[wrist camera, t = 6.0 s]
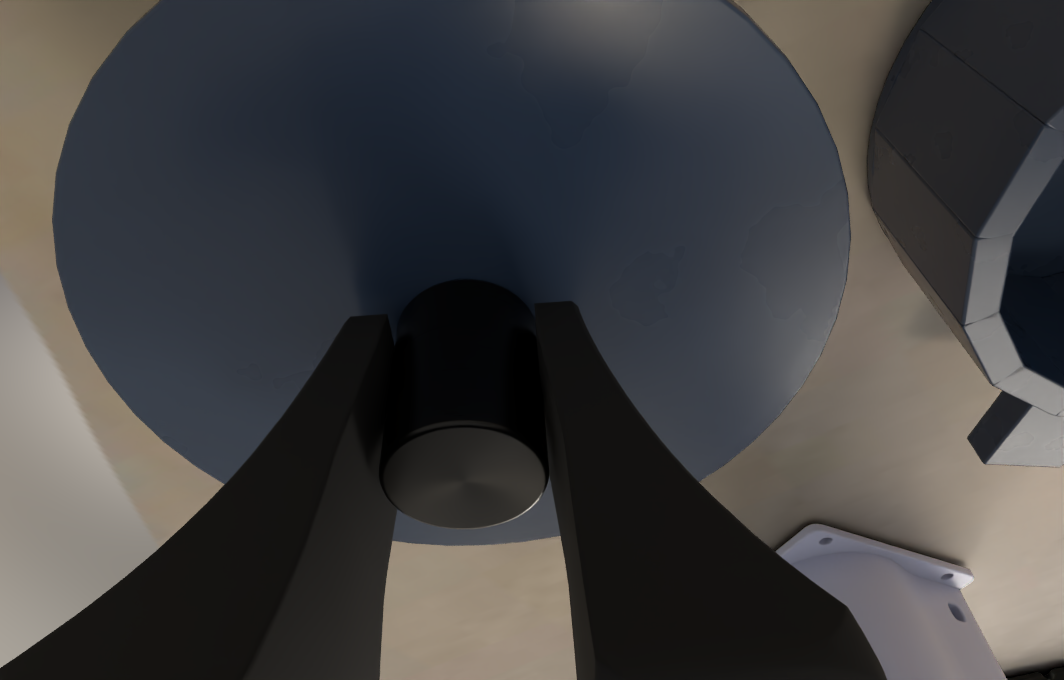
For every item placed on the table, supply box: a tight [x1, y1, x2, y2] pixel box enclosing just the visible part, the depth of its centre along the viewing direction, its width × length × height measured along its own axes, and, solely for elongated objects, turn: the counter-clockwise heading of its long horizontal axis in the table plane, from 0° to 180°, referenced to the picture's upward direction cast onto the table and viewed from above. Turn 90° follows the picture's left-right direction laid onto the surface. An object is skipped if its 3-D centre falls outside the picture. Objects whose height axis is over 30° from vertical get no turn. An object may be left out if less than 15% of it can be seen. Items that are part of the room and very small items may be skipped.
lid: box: [52, 0, 851, 546], centre depth 12 cm, size 13×13×4 cm
